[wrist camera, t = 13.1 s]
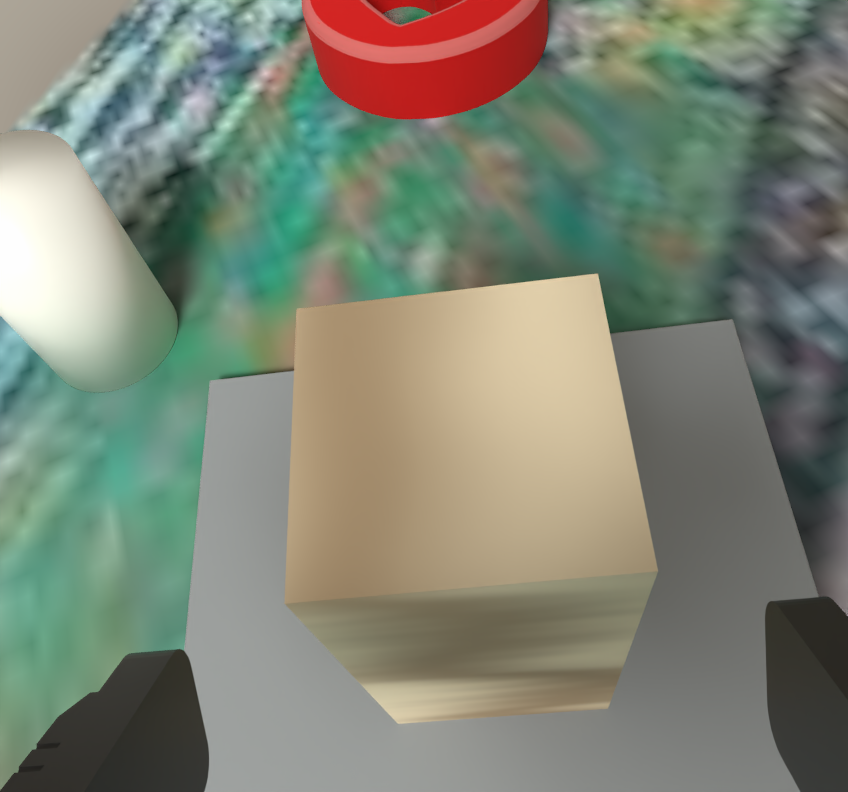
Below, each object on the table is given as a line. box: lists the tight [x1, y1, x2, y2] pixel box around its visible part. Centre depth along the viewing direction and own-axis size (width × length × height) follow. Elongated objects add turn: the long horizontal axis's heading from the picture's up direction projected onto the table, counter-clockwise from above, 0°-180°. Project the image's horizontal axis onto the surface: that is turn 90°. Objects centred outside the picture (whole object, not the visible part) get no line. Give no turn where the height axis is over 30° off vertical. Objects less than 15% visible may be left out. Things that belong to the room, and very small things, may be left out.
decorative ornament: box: [302, 0, 548, 119], centre depth 33 cm, size 10×10×3 cm
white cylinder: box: [0, 130, 178, 393], centre depth 25 cm, size 4×4×7 cm
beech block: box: [284, 274, 658, 724], centre depth 16 cm, size 5×5×10 cm
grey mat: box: [184, 319, 819, 792], centre depth 21 cm, size 16×16×1 cm
